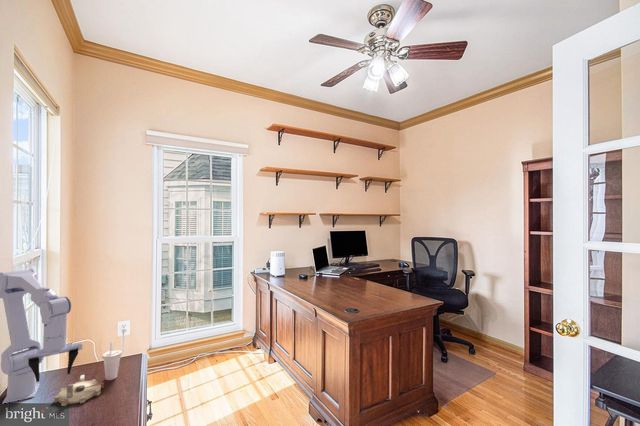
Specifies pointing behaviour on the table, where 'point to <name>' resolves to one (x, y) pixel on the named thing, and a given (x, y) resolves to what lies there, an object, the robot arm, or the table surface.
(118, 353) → the smoothie
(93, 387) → the sprocket
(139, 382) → the table surface
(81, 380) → the index pointer
